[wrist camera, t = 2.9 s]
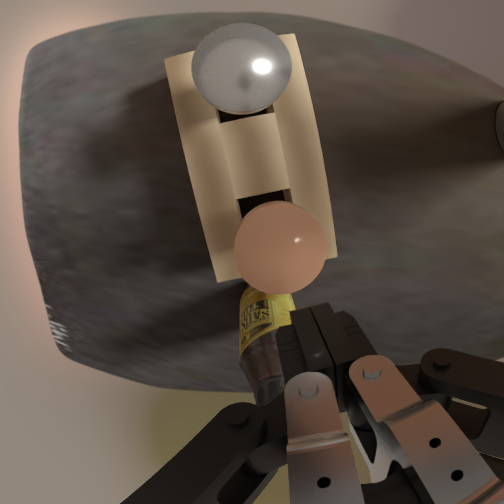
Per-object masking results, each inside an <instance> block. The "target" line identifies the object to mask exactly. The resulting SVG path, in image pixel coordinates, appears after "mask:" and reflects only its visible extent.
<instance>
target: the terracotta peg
mask: <svg viewBox="0 0 504 504" xmlns="http://www.w3.org/2000/svg"><path fill="white" fill-rule="evenodd" d="M326 254H327V242H326V237H325V234H324V232H323V230H322V228H321V226H320V225H319V223H318V222H317V221H316V220H315V219H314V218H313V217H312V216H311V215H310V214H309V213H308V212H307V211H306V210H305V209H303V208H302V207H300V206H298V205H296V204H294V203H291V202H286V201H271V202H267V203H263V204H261V205H259V206H257V207H255V208H254V209H252V210H251V211H250V212H248V213H247V214H246V216H245V217H244V218H243V219H242V221H241V222H240V224H239V226H238V228H237V231H236V234H235V241H234V258H235V263H236V266H237V269H238V271H239V273H240V274H241V276H242V277H243V279H244V280H245V281H246V282H247V283H248V284H249V285H251V286H252V287H254V288H255V289H257V290H259V291H261V292H264V293H268V294H276V295H281V294H289V293H293V292H296V291H298V290H300V289H302V288H304V287H306V286H307V285H308V284H310V283H311V282H312V281H313V280H314V279H315V278H316V277H317V275H318V274H319V272H320V271H321V269H322V267H323V265H324V262H325V259H326Z"/></svg>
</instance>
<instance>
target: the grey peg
mask: <svg viewBox="0 0 504 504" xmlns="http://www.w3.org/2000/svg"><path fill="white" fill-rule="evenodd" d="M191 72H192V78H193V81H194V83H195V85H196V87H197V89H198V90H199V92H200V93H201V95H202V96H203V97H204V99H205V100H206V101H207V102H208V103H209V104H211V105H212V106H213V107H215V108H217V109H219V110H221V111H223V112H226V113H231V114H238V115H243V114H251V113H255V112H258V111H261V110H263V109H265V108H267V107H269V106H270V105H271V104H273V103H274V102H275V101H276V100H277V99H278V98H279V96H280V95H281V94H282V93H283V91H284V90H285V88H286V87H287V85H288V83H289V81H290V77H291V73H292V61H291V56H290V53H289V51H288V49H287V47H286V45H285V44H284V43H283V41H282V40H281V39H280V38H279V37H278V36H277V35H276V34H274V33H273V32H271V31H270V30H268V29H266V28H264V27H261V26H258V25H254V24H249V23H235V24H229V25H225V26H223V27H220V28H218V29H216V30H214V31H212V32H211V33H209V34H208V35H207V36H206V37H205V38H204V39H203V40H202V41H201V42H200V43H199V45H198V46H197V48H196V50H195V52H194V54H193V58H192V63H191Z"/></svg>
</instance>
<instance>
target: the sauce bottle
mask: <svg viewBox="0 0 504 504" xmlns="http://www.w3.org/2000/svg"><path fill="white" fill-rule="evenodd" d="M292 310H296V309H295V305H294V302H293V298H292V296H291V294H290V293H289V294H281V295H276V294H268V293H264V292H261V291H259V290H257V289H255V288H254V287H252V286H251V285H249V284H248V285H247V287H246V288H245V289H244V291H243V294H242V297H241V300H240V328H239V329H240V334H239V341H240V344H239V363H240V366H241V368H242V370H243V371H244V373H245V375H246V377H247V379H248V381H249V383H250V385H251V387H252V389H253V391H254V397H255V401H256V406H258V407H262V406H264V405H266V404H268V403H270V402H272V401H274V400H275V399H276V398H277V397H278V396H279V395H280V394H281V393H282V391H283V389H284V385H285V382H284V376H283V372H282V367H281V362H280V357H279V352H278V348H277V343H276V338H275V335H276V332H277V330H278V328H279V327H280V326H285V325H289V324H291V319H290V311H292Z"/></svg>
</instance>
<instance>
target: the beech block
mask: <svg viewBox="0 0 504 504" xmlns="http://www.w3.org/2000/svg"><path fill="white" fill-rule="evenodd" d="M277 36H278V37H279V38H280V39H281V40H282V41H283V43H284V44H285V45H286V47H287V49H288V51H289V53H290V56H291V61H292V73H291V77H290V81H289V83H288V85H287V87H286V88H285V90H284V91H283V93H282V94H281V95H280V96H279V98H278V99H277V100H276V101H275V102H274V103H273V104H271V105H270V106H269V107H267V108H266V112H267V114H263V115H258V116H253V117H248V118H243V119H238V120H233V121H229V122H224V123H221V121H220V117H219V112H218V109H217V108H215V107H213V106H212V105H211V104H209V103H208V102H207V101H206V100H205V99H204V97H203V96H202V95H201V93H200V92H199V90H198V89H197V87H196V85H195V83H194V81H193V78H192V72H191V63H192V58H193V54H194V52H195V51H191V52H188V53H184V54H180V55H177V56H173V57H170V58H166V59H164V61H165V66H166V71H167V76H168V81H169V86H170V91H171V96H172V100H173V105H174V110H175V114H176V119H177V123H178V128H179V132H180V137H181V141H182V145H183V150H184V154H185V158H186V163H187V167H188V171H189V175H190V179H191V183H192V187H193V191H194V195H195V199H196V203H197V207H198V211H199V215H200V219H201V223H202V227H203V231H204V234H205V238H206V242H207V246H208V249H209V253H210V257H211V261H212V264H213V268H214V271H215V275H216V279H217V282H223V281H228V280H232V279H237V278H242V276H241V274H240V273H239V271H238V269H237V266H236V263H235V258H234V241H235V234H236V231H237V228H238V226H239V224H240V222H241V221H242V215H241V210H240V206H239V202H238V199H240V198H245V197H250V196H254V195H259V194H264V193H269V192H274V191H279V190H283V193H284V199H285V201H286V202H291V203H294V204H296V205H298V206H300V207H302V208H303V209H305V210H306V211H307V212H308V213H309V214H310V215H311V216H312V217H313V218H314V219H315V220H316V221H317V222H318V223H319V225H320V226H321V228H322V230H323V232H324V234H325V237H326V242H327V254H326V259H330V258H334V257H337V249H336V241H335V233H334V225H333V218H332V211H331V204H330V197H329V191H328V184H327V178H326V172H325V167H324V161H323V155H322V150H321V145H320V139H319V134H318V129H317V124H316V120H315V115H314V110H313V106H312V101H311V97H310V92H309V88H308V84H307V80H306V76H305V71H304V67H303V64H302V60H301V56H300V52H299V48H298V45H297V41H296V37H295V34H285V35H277Z"/></svg>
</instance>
